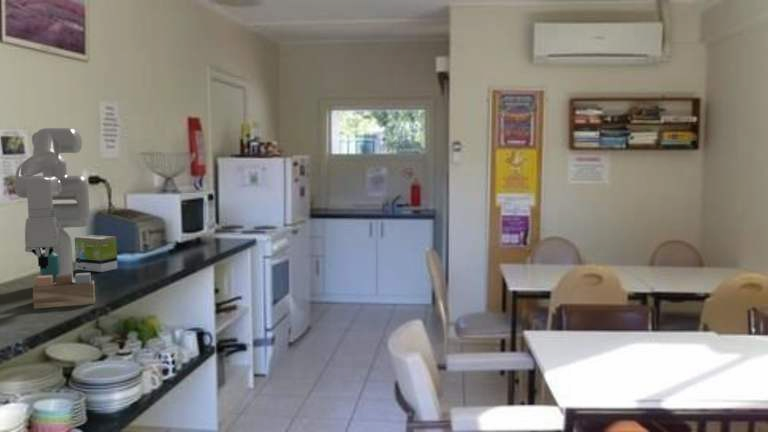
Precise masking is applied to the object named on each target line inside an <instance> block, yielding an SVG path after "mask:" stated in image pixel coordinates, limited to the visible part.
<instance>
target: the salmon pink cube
mask: <svg viewBox="0 0 768 432" xmlns="http://www.w3.org/2000/svg"><path fill="white" fill-rule="evenodd" d="M35 284H36V287H47V286H53V275H44V276H41V275H37V276H36V277H35Z"/></svg>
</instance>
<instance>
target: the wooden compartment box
mask: <svg viewBox="0 0 768 432" xmlns="http://www.w3.org/2000/svg"><path fill="white" fill-rule="evenodd" d="M95 289H96V288H95V280H91V284H77V285H76V284H75V282H72V285H62V286H56V283H53V286H47V287H36V283H35V284H34V285H33V287H32V297H33V299H32V300H33V309H45V308H46V309H47V308H58V307H72V306H86V305H94V304H95V302H96V291H95Z"/></svg>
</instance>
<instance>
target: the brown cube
mask: <svg viewBox="0 0 768 432" xmlns="http://www.w3.org/2000/svg"><path fill="white" fill-rule="evenodd" d="M62 285H72V274H60V275H57V276H56V286H62Z"/></svg>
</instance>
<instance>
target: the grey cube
mask: <svg viewBox="0 0 768 432" xmlns="http://www.w3.org/2000/svg"><path fill="white" fill-rule="evenodd" d="M74 278H75V284H76V285H77V284H91V281H92V276H91V272H80V273H78V272H77V273H75V275H74Z"/></svg>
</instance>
